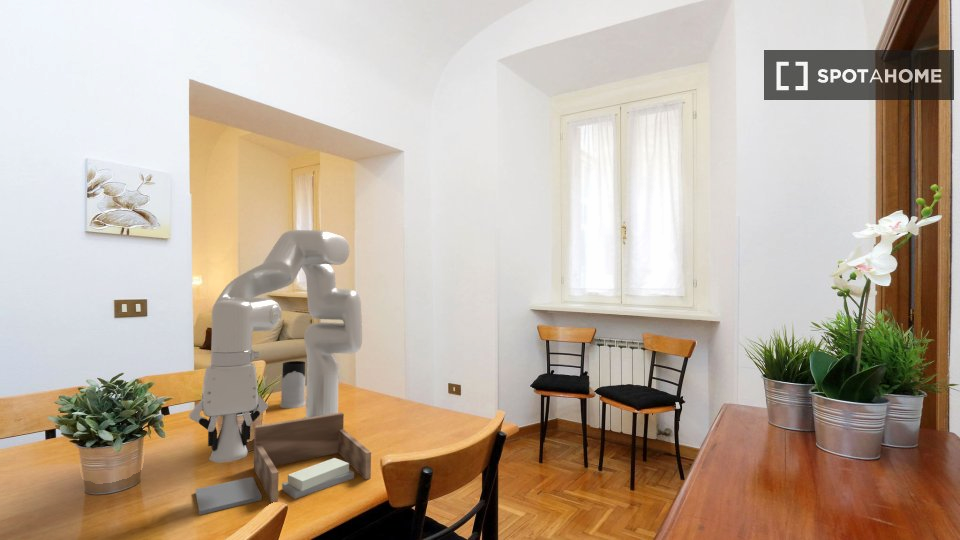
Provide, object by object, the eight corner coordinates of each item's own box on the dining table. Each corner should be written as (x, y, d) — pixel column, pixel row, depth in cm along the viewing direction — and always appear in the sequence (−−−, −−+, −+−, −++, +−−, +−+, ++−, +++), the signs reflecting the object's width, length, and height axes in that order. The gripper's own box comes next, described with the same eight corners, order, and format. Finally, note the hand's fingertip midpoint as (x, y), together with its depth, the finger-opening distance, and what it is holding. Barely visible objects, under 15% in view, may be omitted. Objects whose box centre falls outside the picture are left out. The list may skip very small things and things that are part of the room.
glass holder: (280, 409, 159) (281, 365, 160) (279, 399, 172) (280, 359, 172) (307, 406, 163) (307, 364, 163) (304, 397, 176) (305, 357, 176)
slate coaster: (195, 492, 98) (195, 489, 98) (252, 480, 104) (252, 476, 104) (199, 515, 89) (199, 510, 89) (261, 499, 95) (261, 496, 95)
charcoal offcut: (282, 492, 100) (282, 483, 100) (340, 473, 110) (340, 464, 110) (294, 502, 96) (294, 492, 96) (354, 481, 106) (354, 472, 106)
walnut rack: (253, 467, 111) (254, 426, 111) (340, 449, 123) (341, 412, 123) (271, 503, 94) (272, 453, 94) (370, 478, 106) (371, 434, 106)
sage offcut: (287, 483, 100) (287, 474, 100) (334, 466, 109) (334, 457, 109) (302, 491, 96) (302, 481, 97) (349, 472, 106) (349, 463, 106)
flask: (244, 448, 101) (245, 402, 102) (251, 458, 96) (253, 410, 96) (206, 455, 97) (207, 407, 97) (212, 466, 91) (213, 416, 92)
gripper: (271, 353, 105) (269, 433, 104) (182, 359, 95) (180, 448, 95) (278, 358, 99) (276, 443, 98) (184, 365, 89) (181, 460, 89)
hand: (229, 445), depth 96 cm, fingers closed on flask, 4 cm apart
